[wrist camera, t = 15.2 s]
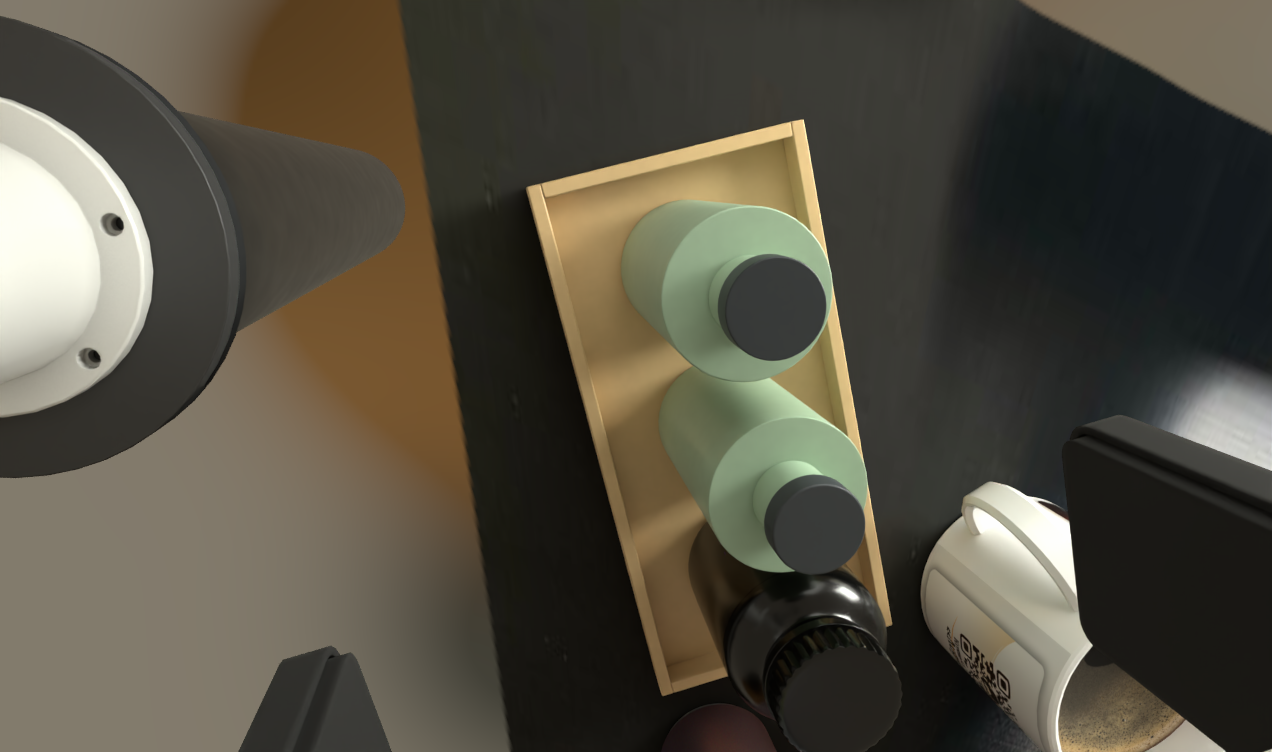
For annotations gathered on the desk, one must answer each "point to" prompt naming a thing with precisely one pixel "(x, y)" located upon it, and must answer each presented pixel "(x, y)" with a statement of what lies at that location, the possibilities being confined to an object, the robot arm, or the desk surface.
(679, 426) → the middle bottle
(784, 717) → the supplement bottle
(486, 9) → the desk surface
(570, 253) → the tray
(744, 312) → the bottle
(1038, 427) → the desk surface
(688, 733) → the beverage can
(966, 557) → the mug
